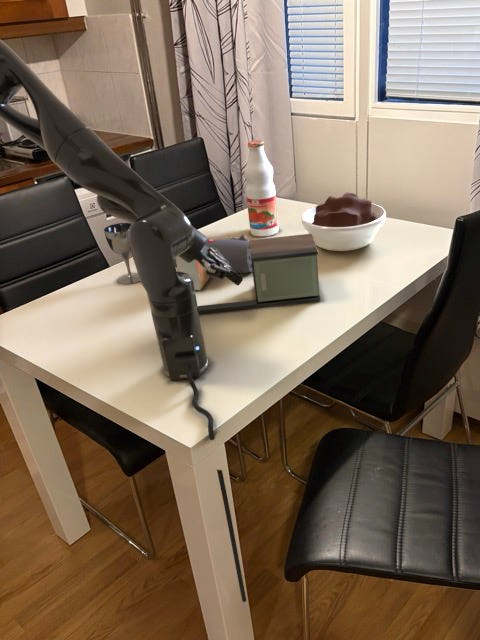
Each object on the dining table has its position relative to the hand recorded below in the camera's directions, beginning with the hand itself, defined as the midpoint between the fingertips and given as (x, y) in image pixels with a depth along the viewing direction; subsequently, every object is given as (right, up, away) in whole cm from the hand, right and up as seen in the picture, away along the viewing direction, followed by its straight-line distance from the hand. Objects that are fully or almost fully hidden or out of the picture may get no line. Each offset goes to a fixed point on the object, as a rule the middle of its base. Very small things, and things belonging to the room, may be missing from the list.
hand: (240, 281), depth 144 cm
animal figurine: (-1, +19, +38) cm, 43 cm away
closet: (+11, -1, +10) cm, 15 cm away
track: (+4, -5, +4) cm, 8 cm away
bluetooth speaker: (-8, +14, +27) cm, 31 cm away
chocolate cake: (+28, +17, +34) cm, 48 cm away
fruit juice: (+4, +25, +50) cm, 56 cm away
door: (+11, -3, +3) cm, 12 cm away
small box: (-14, +2, +18) cm, 23 cm away
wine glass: (-33, +5, +25) cm, 42 cm away
